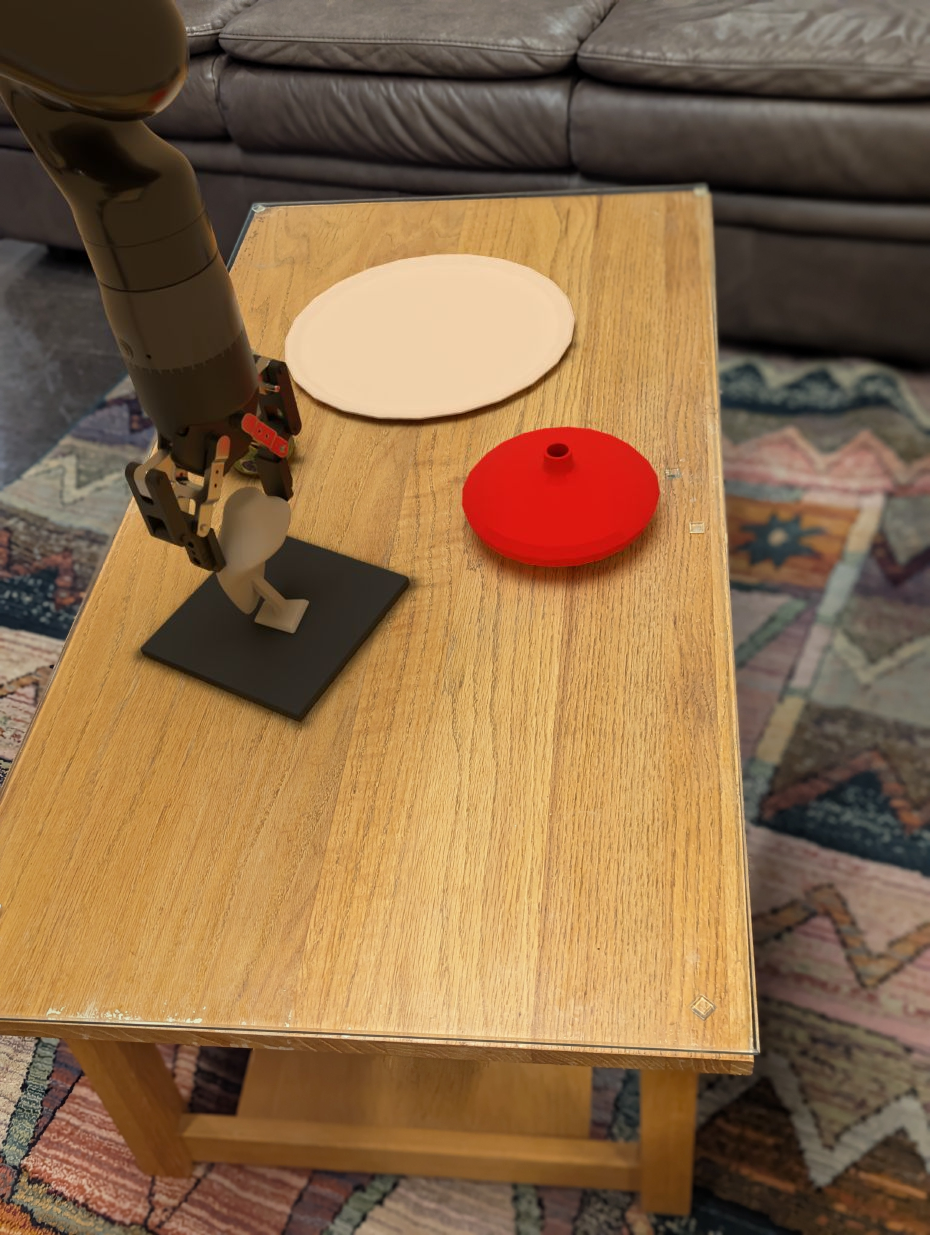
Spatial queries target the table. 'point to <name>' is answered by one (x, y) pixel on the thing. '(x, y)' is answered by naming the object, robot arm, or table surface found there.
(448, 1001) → the table surface
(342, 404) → the plate
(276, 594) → the grey rounded body
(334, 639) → the mat
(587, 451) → the red disc with nozzle
